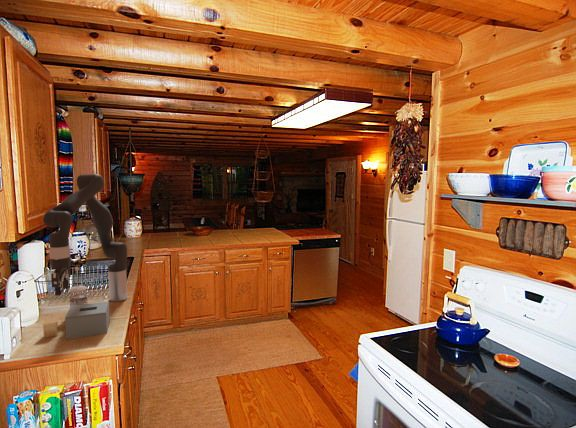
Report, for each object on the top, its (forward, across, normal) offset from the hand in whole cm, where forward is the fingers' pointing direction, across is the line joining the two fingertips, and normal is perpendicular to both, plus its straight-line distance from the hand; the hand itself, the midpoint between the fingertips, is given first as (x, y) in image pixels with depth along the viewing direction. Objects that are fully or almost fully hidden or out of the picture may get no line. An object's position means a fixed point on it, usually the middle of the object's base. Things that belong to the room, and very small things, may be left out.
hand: (62, 291), depth 154 cm
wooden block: (+21, -1, -6) cm, 21 cm away
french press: (+20, -22, -1) cm, 30 cm away
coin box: (+20, -5, +9) cm, 23 cm away
